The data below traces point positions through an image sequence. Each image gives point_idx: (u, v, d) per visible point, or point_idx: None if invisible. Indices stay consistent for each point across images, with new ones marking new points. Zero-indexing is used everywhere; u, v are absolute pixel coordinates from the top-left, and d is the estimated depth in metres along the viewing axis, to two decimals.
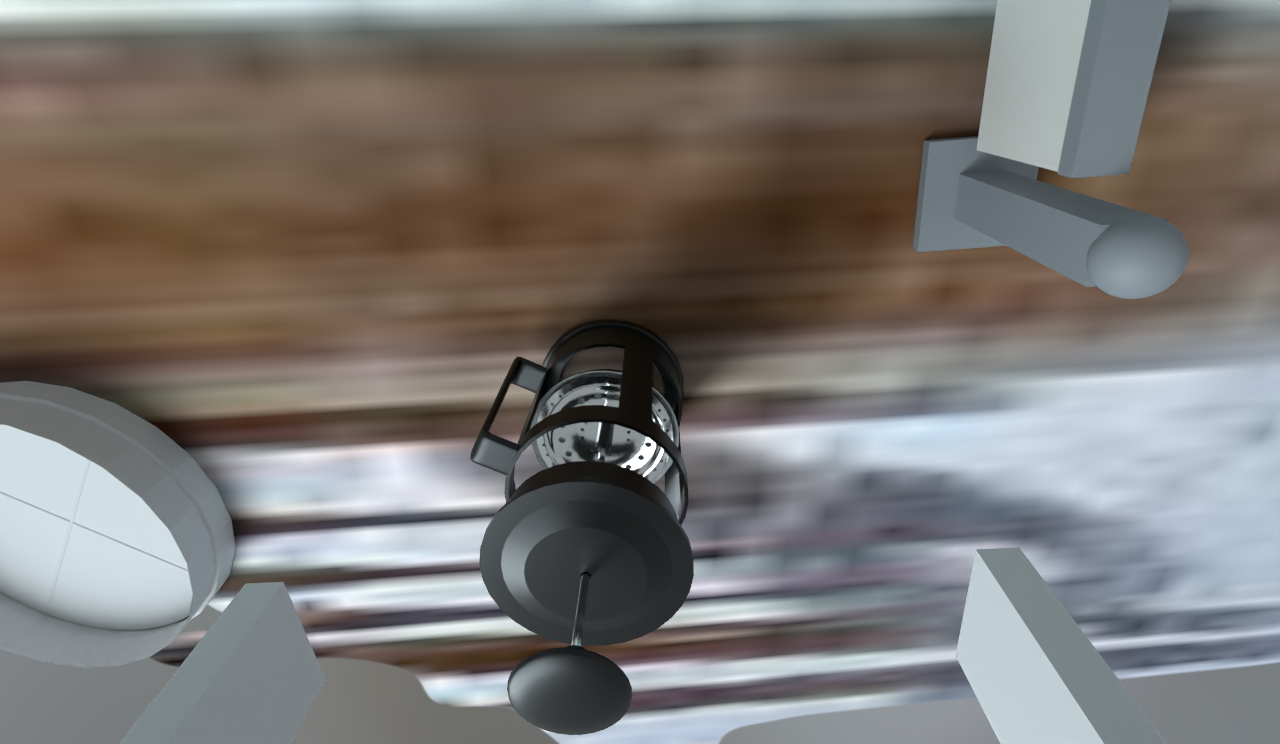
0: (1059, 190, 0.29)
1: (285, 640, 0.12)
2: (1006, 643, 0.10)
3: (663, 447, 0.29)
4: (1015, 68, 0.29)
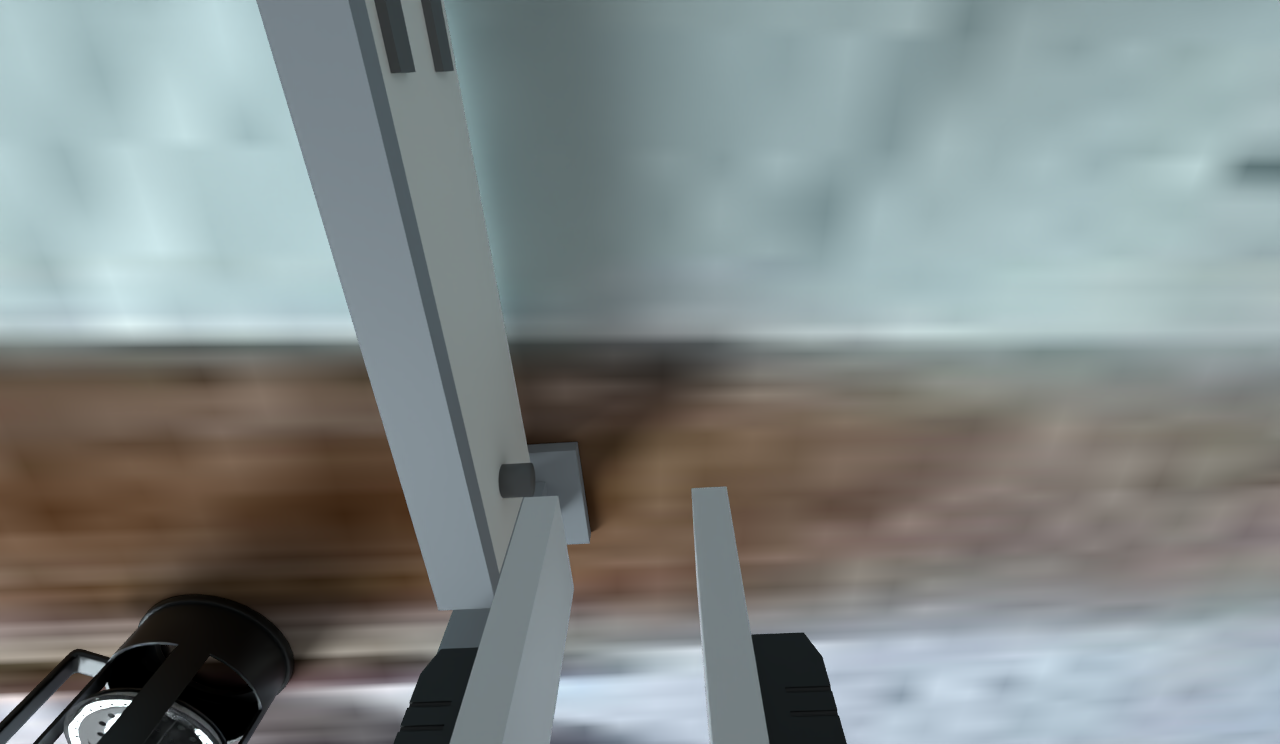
0: None
1: (560, 546, 0.14)
2: (696, 561, 0.13)
3: None
4: None
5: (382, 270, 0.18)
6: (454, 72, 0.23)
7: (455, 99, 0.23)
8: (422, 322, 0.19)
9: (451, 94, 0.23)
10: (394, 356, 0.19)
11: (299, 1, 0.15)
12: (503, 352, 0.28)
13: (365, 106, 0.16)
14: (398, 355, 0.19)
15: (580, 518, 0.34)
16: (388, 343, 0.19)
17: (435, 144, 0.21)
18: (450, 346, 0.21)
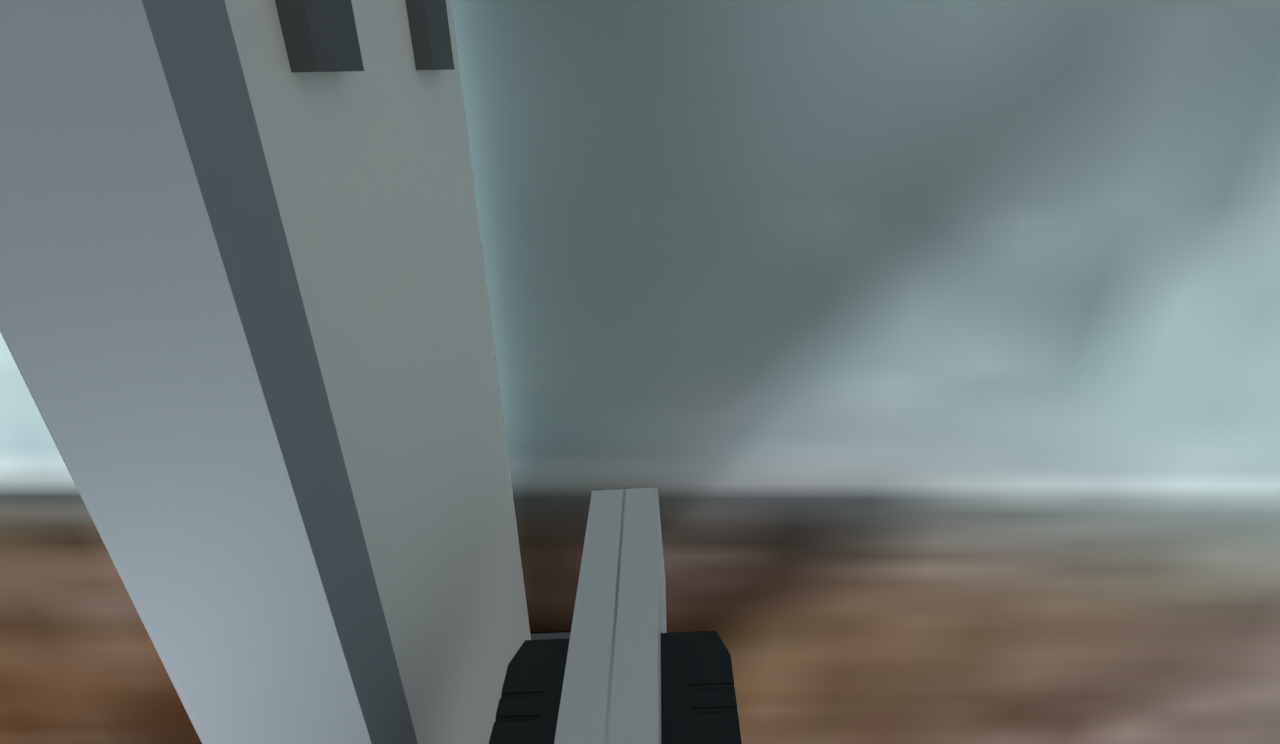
0: None
1: None
2: None
3: None
4: None
5: (239, 582, 0.07)
6: (454, 71, 0.12)
7: (453, 122, 0.12)
8: (343, 683, 0.08)
9: (446, 114, 0.12)
10: (274, 740, 0.08)
11: None
12: (508, 536, 0.17)
13: (168, 178, 0.05)
14: (283, 739, 0.08)
15: None
16: (259, 717, 0.08)
17: (406, 221, 0.10)
18: (414, 639, 0.10)
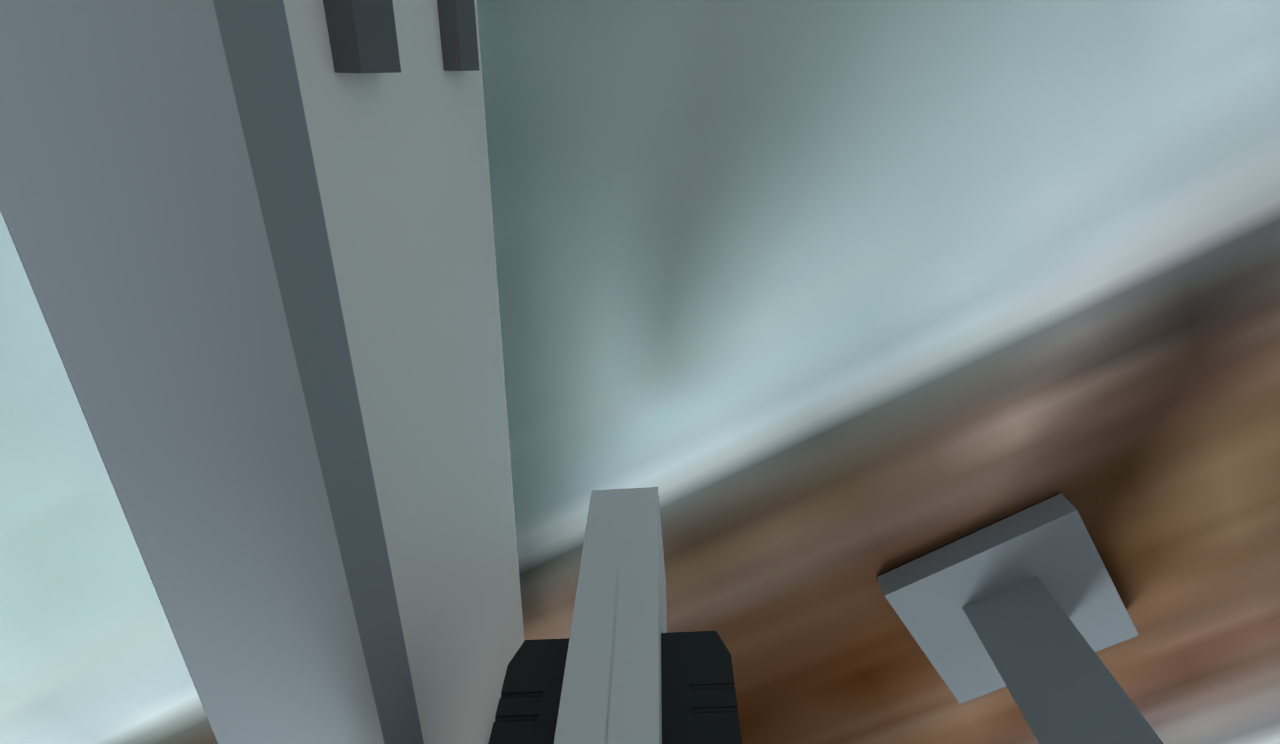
0: None
1: None
2: None
3: None
4: None
5: (263, 573, 0.07)
6: (477, 72, 0.13)
7: (474, 122, 0.13)
8: (358, 675, 0.08)
9: (468, 114, 0.12)
10: (285, 730, 0.08)
11: None
12: (507, 533, 0.17)
13: (226, 176, 0.05)
14: (295, 729, 0.08)
15: (1113, 606, 0.20)
16: (272, 707, 0.08)
17: (429, 220, 0.10)
18: (421, 633, 0.10)
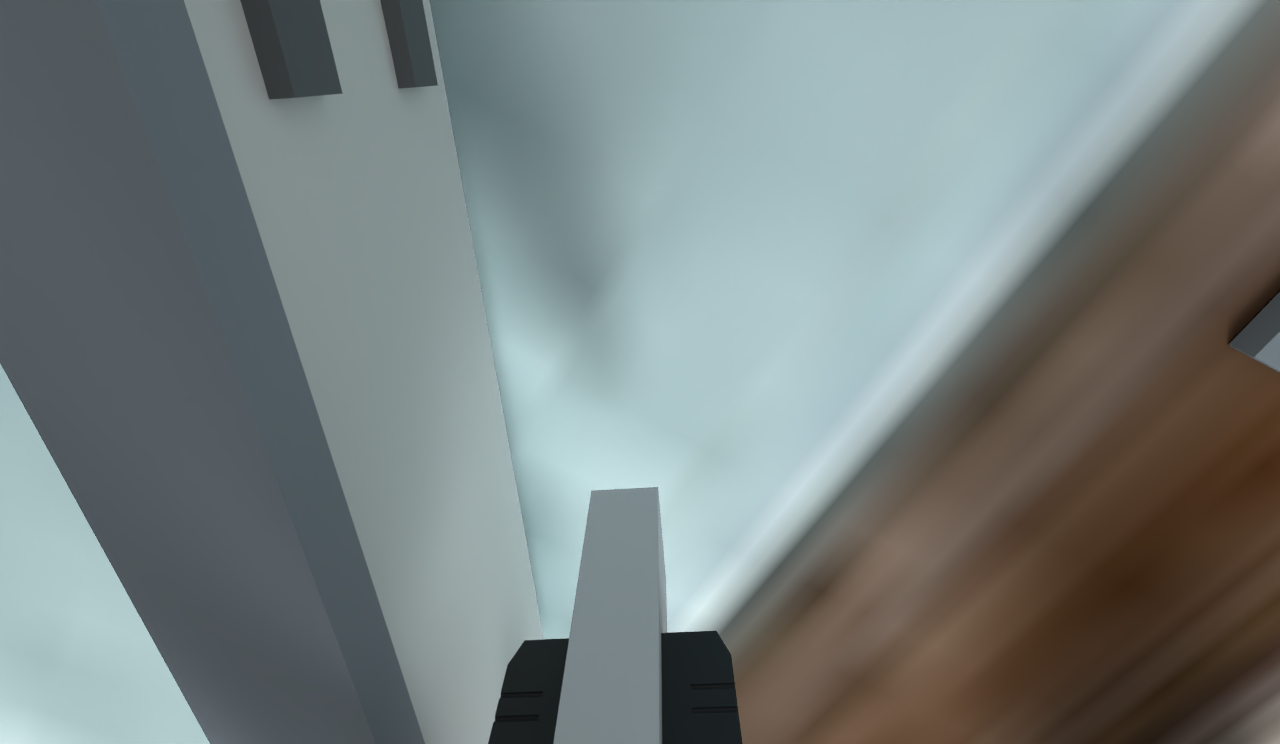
0: None
1: None
2: None
3: None
4: None
5: (240, 593, 0.07)
6: (439, 87, 0.13)
7: (440, 137, 0.13)
8: (345, 688, 0.08)
9: (432, 130, 0.12)
10: None
11: None
12: (515, 541, 0.17)
13: (147, 209, 0.05)
14: None
15: None
16: (267, 724, 0.08)
17: (394, 236, 0.10)
18: (420, 644, 0.11)
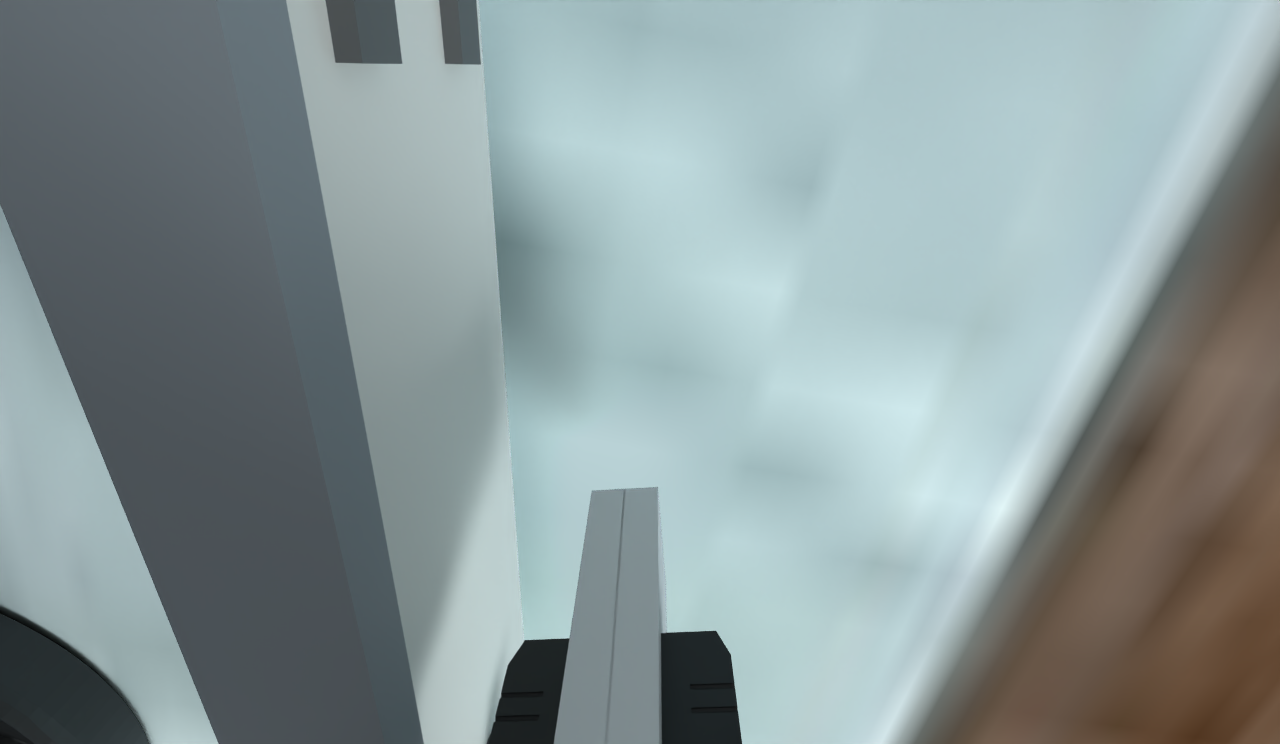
0: None
1: None
2: None
3: None
4: None
5: (262, 566, 0.07)
6: (479, 66, 0.13)
7: (476, 117, 0.12)
8: (357, 670, 0.08)
9: (470, 108, 0.12)
10: (284, 724, 0.08)
11: None
12: (507, 530, 0.17)
13: (225, 164, 0.05)
14: (294, 724, 0.08)
15: None
16: (271, 701, 0.08)
17: (430, 214, 0.10)
18: (420, 629, 0.10)
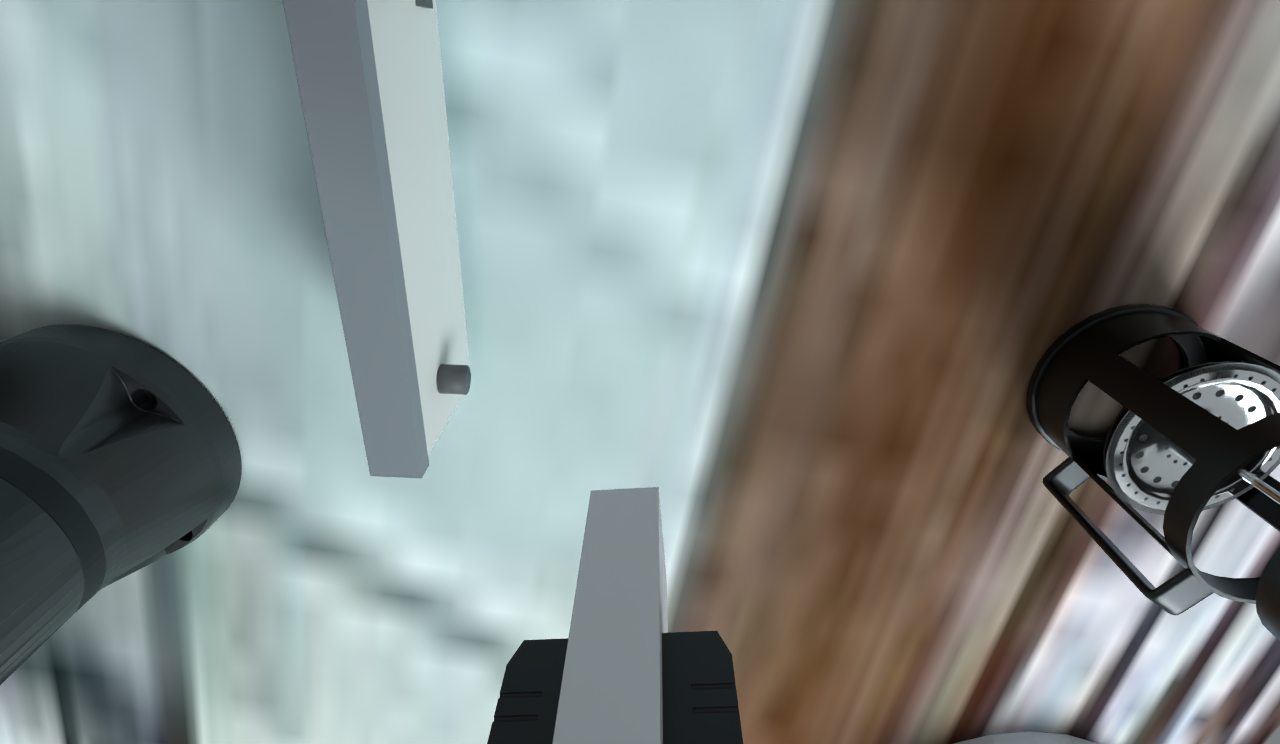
0: None
1: None
2: None
3: None
4: None
5: (349, 159, 0.21)
6: (434, 11, 0.27)
7: (432, 34, 0.27)
8: (379, 209, 0.22)
9: (428, 29, 0.27)
10: (352, 236, 0.23)
11: None
12: (454, 268, 0.31)
13: (348, 16, 0.20)
14: (356, 236, 0.23)
15: None
16: (348, 224, 0.22)
17: (408, 66, 0.25)
18: (404, 241, 0.25)
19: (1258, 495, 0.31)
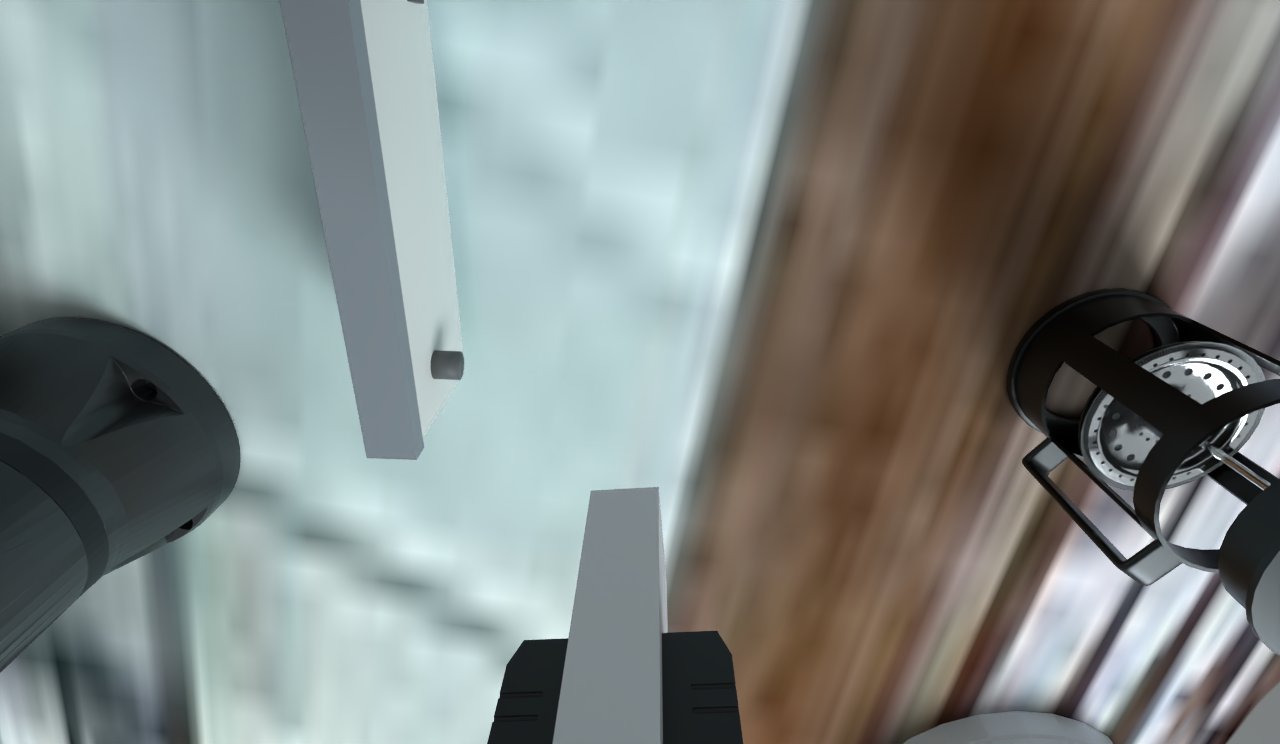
0: None
1: None
2: None
3: (1250, 410, 0.24)
4: None
5: (344, 148, 0.22)
6: (425, 6, 0.28)
7: (423, 29, 0.28)
8: (373, 196, 0.23)
9: (420, 24, 0.27)
10: (347, 223, 0.23)
11: None
12: (447, 258, 0.32)
13: (342, 9, 0.20)
14: (351, 222, 0.23)
15: None
16: (343, 211, 0.23)
17: (400, 59, 0.25)
18: (397, 229, 0.26)
19: (1228, 471, 0.32)
